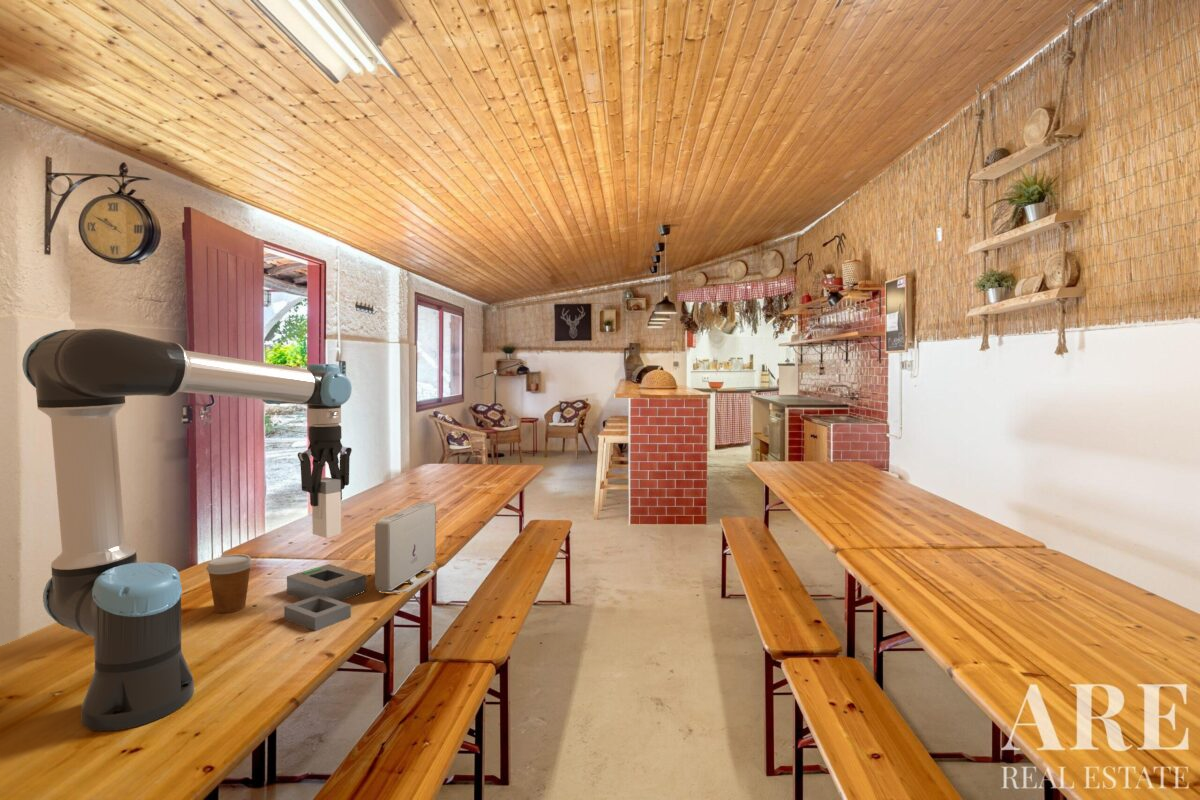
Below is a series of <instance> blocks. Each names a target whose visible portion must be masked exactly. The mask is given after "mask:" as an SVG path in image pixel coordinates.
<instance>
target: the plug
mask: <svg viewBox="0 0 1200 800" xmlns="http://www.w3.org/2000/svg"><path fill="white" fill-rule="evenodd" d="M319 493H322V519H316V518H313V506H311V509H312V511H311V512H312V513H311V514H312V522H311V523H312V535H314V536H319V537H323V538H325V539H326V538H331V537H335V536H339V535H342V504H341V502H342V500H341V482H340V480H339V479H333V478H331V477H327V476H325V477H321V482H320V488H319Z"/></svg>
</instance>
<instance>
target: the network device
mask: <svg viewBox="0 0 1200 800" xmlns="http://www.w3.org/2000/svg"><path fill="white" fill-rule="evenodd" d="M436 504H437V503H435V502H427V501H425V502H423V501H422V502H418V503H416V504H414V505H411V506H410V507H407V508H405V509H402V510H399V511H398V512H394V513H392V514H390V515H387V516H385V517H382V518H380V519H378V520H377V521H376V523H375V525H374V587H375V590H378V591H381V592H394V593H400V592H403V593H404V594H407V593H409V592H410V591H412V590H413V589H414V588H416V587H418V586H419V585H421V584H423V582H425V581H427V580H428V579H429V578H430V577H432V576H434V574H435V571H434V570H433V569H430V568H428V567H430V566H432V565H433V564H434V563H435V561H436V557H437V555H436V554H437V550H436V549H437V547H436V545H437V537H436V535H437V505H436ZM421 571H424V572H423V573H425V572H426V573H427V574H425V575H424V576H423V577H418V578H417V576H416V575H417V574H419V573H422V572H421ZM403 582H408V583H412V584H410V585H409V586H408V587H405V588H404V589H401V590H395V589H396V588H397V587H399V586H400V585H402V584H404V583H403ZM378 591H377V592H378Z"/></svg>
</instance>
